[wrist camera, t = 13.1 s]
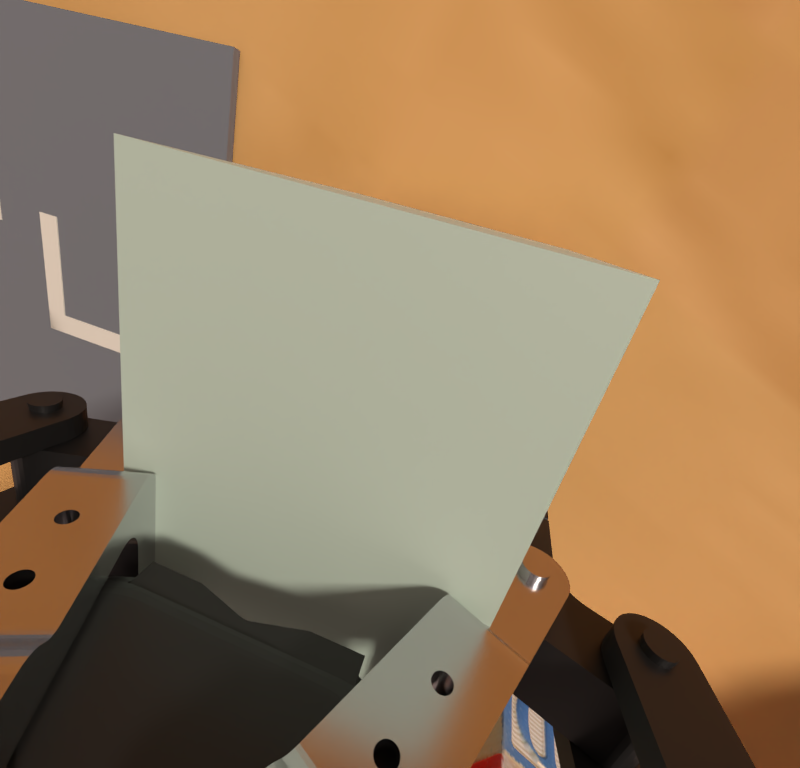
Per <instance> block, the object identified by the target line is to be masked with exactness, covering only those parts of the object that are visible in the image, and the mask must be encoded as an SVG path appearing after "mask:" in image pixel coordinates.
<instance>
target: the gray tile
mask: <svg viewBox="0 0 800 768" xmlns="http://www.w3.org/2000/svg"><path fill="white" fill-rule="evenodd" d="M239 57H240V51H239V50H238V49H236V48H235V47H231V46H227V45H222V44H218V43H213V42H209V41H204V40H200V39H195V38H191V37H186V36H182V35H177V34H173V33H168V32H164V31H159V30H155V29H150V28H146V27H141V26H137V25H132V24H128V23H123V22H119V21H114V20H110V19H105V18H101V17H96V16H91V15H87V14H82V13H78V12H73V11H69V10H64V9H60V8H55V7H51V6H46V5H42V4H37V3H33V2H28V1H24V0H0V401H3V400H7V399H11V398H15V397H18V396H22V395H26V394H31V393H37V392H48V391H57V392H67V393H72V394H75V395H78V396H80V397H82V398H83V399H84V400H85V401H86V403H87V416H88V418H92V419H99V420H105V421H112V422H118V421H119V420H120V419H121V418H122V392H121V359H120V327H119V294H118V262H117V229H116V196H115V164H114V133H116V134H120V135H124V136H128V137H132V138H136V139H140V140H144V141H148V142H152V143H156V144H160V145H164V146H168V147H172V148H176V149H180V150H184V151H188V152H192V153H196V154H200V155H205V156H209V157H213V158H217V159H221V160H225V161H229V162H232V157H233V143H234V129H235V114H236V100H237V86H238V72H239Z"/></svg>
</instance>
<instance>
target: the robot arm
mask: <svg viewBox="0 0 800 768" xmlns="http://www.w3.org/2000/svg"><path fill="white" fill-rule="evenodd" d="M8 462H11V469H12V475H13V481H14V487H12V488H10V489H7V490H5V491H2V492H0V768H471V766H472V764H473V763H474V761H475V759H476V757H477V756H478V754H479V752H480V750H481V749H482V747H483V745H484V743H485V742H486V740H487V738H488V736H489V735H490V733H491V731H492V729H493V728H494V726H495V724H496V722H497V721H498V719H499V717H500V715H501V714H502V712H503V710H504V708H505V707H506V705H507V703H508V701H509V700H510V698H511V696H512V694H513V695H515V696H516V697H517V698H518V699H520V700H521V701H522V702H523V703H524V704H526V705H527V706H528V707H529V708H531V709H532V710H533V711H534V712H535V713H537V714H538V715H539V716H540V717H542V718H543V719H544V720H545V721H547V722H548V723H549V724H550V725H551V726H553V733H554V738H555V743H556V748H557V753H558V758H559V763H560V768H755V766H754V764H753V762H752V761H751V759H750V757H749V755H748V753H747V752H746V750H745V748H744V746H743V744H742V743H741V741H740V739H739V737H738V735H737V734H736V732H735V730H734V728H733V726H732V725H731V723H730V721H729V719H728V717H727V716H726V714H725V712H724V710H723V708H722V707H721V705H720V703H719V701H718V699H717V698H716V696H715V694H714V692H713V690H712V688H711V687H710V685H709V683H708V681H707V679H706V678H705V676H704V674H703V672H702V670H701V669H700V667H699V665H698V663H697V662H696V660H695V658H694V657H693V655H692V654H691V653H690V651H689V650H688V649H687V647H686V646H685V645H684V644H683V643H682V642H681V641H680V640H679V639H678V638H677V637H676V636H675V635H674V634H672V633H671V632H670V631H669V630H667V629H666V628H665V627H663V626H662V625H660V624H659V623H657V622H655V621H653V620H651V619H649V618H647V617H645V616H642V615H638V614H633V613H627V614H622V615H620V616H619V617H618V618H617V619H616V620H615V622H614V623H613V624H612V623H611V622H609V621H608V620H606V619H605V618H603V617H602V616H600V615H599V614H597V613H595V612H594V611H592V610H591V609H589V608H588V607H586V606H585V605H584V604H582V603H581V602H580V601H578V600H577V599H576V598H575V597H574V596H573V595H572V594H571V593H570V584H569V580H568V577H567V576H566V574H565V572H564V571H563V569H562V568H561V566H560V565H559V564H558V563H557V562H556V561H555V560H554V559H553V557H552V548H551V539H550V530H549V521H547V520H548V512H546V514H545V516H544V518H543V520H542V522H541V524H540V526H539V528H538V530H537V532H536V534H535V536H534V539H533V541H532V543H531V545H530V547H529V549H528V551H527V553H526V555H525V557H524V559H523V561H522V563H521V565H520V567H519V569H518V571H517V573H516V575H515V577H514V579H513V581H512V583H511V586H510V588H509V590H508V592H507V594H506V596H505V598H504V600H503V602H502V604H501V606H500V608H499V610H498V612H497V614H496V616H495V618H494V620H493V622H492V624H491V626H490V627H489V626H487V625H485V624H483V623H482V622H481V621H480V620H479V619H478V618H476V617H475V616H474V615H473V614H472V613H471V612H469V611H468V610H467V609H466V608H465V607H464V606H462V605H461V604H460V603H459V602H458V601H457V600H455V599H454V598H453V597H452V596H451V595H449V594H448V595H446V596H444V597H443V598H442V599H441V600H440V601H439V602H438V603H437V604H436V605H435V606H434V607H433V608H432V609H431V610H430V611H429V612H428V613H427V614H426V615H425V616H424V617H423V618H422V619H421V620H420V621H419V622H418V623H417V624H416V625H415V626H414V627H413V628H412V629H411V630H410V631H409V632H408V633H407V634H406V635H405V636H404V637H403V638H402V639H401V640H400V641H399V642H398V643H397V644H396V645H395V646H394V647H393V648H392V649H391V650H390V651H389V652H388V653H387V654H386V656H385V657H384V658H383V659H382V660H381V661H380V662H379V663H378V664H377V665H376V666H375V667H374V668H373V669H372V670H371V671H370V672H369V673H368V674H367V675H366V676H365V677H364V678H363V679H361V678H360V677H359V673H360V670H361V667H362V664H363V661H364V658H365V655H362V654H360V653H358V652H356V651H353V650H351V649H349V648H347V647H344V646H342V645H340V644H338V643H335V642H333V641H331V640H329V639H326V638H324V637H322V636H320V635H317V634H315V633H313V632H311V631H306V630H300V629H294V628H288V627H282V626H276V625H270V624H264V623H257V622H251V621H247V620H245V619H243V618H242V617H240V616H239V615H238V614H237V613H236V612H235V611H233V610H232V609H231V608H230V607H229V606H228V605H226V604H225V603H224V602H223V601H222V600H221V599H220V598H218V597H217V596H216V595H215V594H214V593H213V592H211V591H210V590H209V589H208V588H207V587H206V586H205V585H203V584H202V583H200V582H198V581H196V580H194V579H191V578H189V577H187V576H185V575H182V574H180V573H178V572H176V571H174V570H171V569H169V568H167V567H165V566H162V565H160V564H158V563H156V562H155V502H156V476H155V474H152V473H140V472H127V471H124V457H123V424H122V418H121V419H120V420H119V421H118V422H112V421H105V420H99V419H92V418H88V416H87V403H86V401H85V400H84V399H83V398H82V397H80V396H78V395H75V394H72V393H67V392H57V391H48V392H37V393H31V394H26V395H22V396H18V397H15V398H11V399H7V400H3V401H0V465H2V464H5V463H8Z"/></svg>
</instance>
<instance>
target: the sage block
mask: <svg viewBox="0 0 800 768" xmlns="http://www.w3.org/2000/svg"><path fill="white" fill-rule="evenodd" d="M114 164H115V196H116V229H117V262H118V294H119V327H120V359H121V392H122V424H123V457H124V471H127V472H140V473H152V474H155V476H156V502H155V562H156V563H158V564H160V565H162V566H165V567H167V568H169V569H171V570H174V571H176V572H178V573H180V574H182V575H185V576H187V577H189V578H191V579H194V580H196V581H198V582H200V583H202V584H203V585H205V586H206V587H207V588H208V589H209V590H210V591H211V592H213V593H214V594H215V595H216V596H217V597H218V598H220V599H221V600H222V601H223V602H224V603H225V604H226V605H228V606H229V607H230V608H231V609H232V610H233V611H235V612H236V613H237V614H238V615H239V616H240V617H242V618H243V619H245V620H247V621H251V622H257V623H264V624H270V625H276V626H282V627H288V628H294V629H300V630H306V631H311V632H313V633H315V634H317V635H320V636H322V637H324V638H326V639H329V640H331V641H333V642H335V643H338V644H340V645H342V646H344V647H347V648H349V649H351V650H353V651H356V652H358V653H360V654H362V655H365V658H364V661H363V664H362V667H361V670H360V673H359V677H360V678H361V679H363V678H364V677H365V676H366V675H367V674H368V673H369V672H370V671H371V670H372V669H373V668H374V667H375V666H376V665H377V664H378V663H379V662H380V661H381V660H382V659H383V658H384V657H385V656H386V654H387V653H388V652H389V651H390V650H391V649H392V648H393V647H394V646H395V645H396V644H397V643H398V642H399V641H400V640H401V639H402V638H403V637H404V636H405V635H406V634H407V633H408V632H409V631H410V630H411V629H412V628H413V627H414V626H415V625H416V624H417V623H418V622H419V621H420V620H421V619H422V618H423V617H424V616H425V615H426V614H427V613H428V612H429V611H430V610H431V609H432V608H433V607H434V606H435V605H436V604H437V603H438V602H439V601H440V600H441V599H442V598H443V597H444V596H446V595H448V594H449V595H451V596H452V597H453V598H454V599H455V600H457V601H458V602H459V603H460V604H461V605H462V606H464V607H465V608H466V609H467V610H468V611H469V612H471V613H472V614H473V615H474V616H475V617H476V618H478V619H479V620H480V621H481V622H482V623H483V624H485V625H487V626H489V627H490V626H491V624H492V622H493V620H494V618H495V616H496V614H497V612H498V610H499V608H500V606H501V604H502V602H503V600H504V598H505V596H506V594H507V592H508V590H509V588H510V586H511V583H512V581H513V579H514V577H515V575H516V573H517V571H518V569H519V567H520V565H521V563H522V561H523V559H524V557H525V555H526V553H527V551H528V549H529V547H530V545H531V543H532V541H533V539H534V536H535V534H536V532H537V530H538V528H539V526H540V524H541V522H542V520H543V518H544V516H545V514H546V512H547V510H548V508H549V506H550V504H551V502H552V500H553V498H554V496H555V494H556V492H557V489H558V487H559V485H560V483H561V481H562V479H563V477H564V475H565V473H566V471H567V469H568V467H569V465H570V463H571V461H572V459H573V457H574V455H575V453H576V451H577V449H578V447H579V445H580V442H581V440H582V438H583V436H584V434H585V432H586V430H587V428H588V426H589V424H590V422H591V420H592V418H593V416H594V414H595V412H596V410H597V408H598V406H599V404H600V402H601V400H602V398H603V395H604V393H605V391H606V389H607V387H608V385H609V383H610V381H611V379H612V377H613V375H614V373H615V371H616V369H617V367H618V365H619V363H620V361H621V359H622V357H623V355H624V353H625V351H626V348H627V346H628V344H629V342H630V340H631V338H632V336H633V334H634V332H635V330H636V328H637V326H638V324H639V322H640V320H641V318H642V316H643V314H644V312H645V310H646V308H647V306H648V304H649V301H650V299H651V297H652V295H653V293H654V291H655V289H656V287H657V285H658V283H659V281H660V280H658V279H655V278H652V277H649V276H645V275H642V274H639V273H636V272H633V271H630V270H627V269H624V268H621V267H618V266H615V265H612V264H609V263H606V262H603V261H600V260H597V259H594V258H591V257H588V256H585V255H582V254H579V253H576V252H573V251H570V250H567V249H563V248H560V247H556V246H552V245H548V244H545V243H541V242H537V241H534V240H530V239H526V238H522V237H519V236H515V235H511V234H507V233H504V232H500V231H496V230H492V229H489V228H485V227H481V226H477V225H474V224H470V223H466V222H463V221H459V220H455V219H451V218H448V217H444V216H440V215H436V214H433V213H429V212H425V211H421V210H418V209H414V208H410V207H406V206H403V205H399V204H395V203H391V202H388V201H384V200H380V199H377V198H373V197H369V196H365V195H362V194H358V193H354V192H350V191H346V190H342V189H338V188H334V187H330V186H326V185H321V184H317V183H313V182H309V181H305V180H301V179H297V178H293V177H289V176H285V175H281V174H277V173H273V172H269V171H265V170H261V169H257V168H253V167H249V166H245V165H241V164H237V163H233V162H229V161H225V160H221V159H217V158H213V157H209V156H205V155H200V154H196V153H192V152H188V151H184V150H180V149H176V148H172V147H168V146H164V145H160V144H156V143H152V142H148V141H144V140H140V139H136V138H132V137H128V136H124V135H120V134H116V133H114Z"/></svg>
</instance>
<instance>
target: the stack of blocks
mask: <svg viewBox="0 0 800 768" xmlns="http://www.w3.org/2000/svg"><path fill="white" fill-rule="evenodd" d="M471 768H560V763H559V758H558V753H557V748H556V743H555V738H554V733H553V726H551V725H550V724H549V723H548V722H547V721H545V720H544V719H543V718H542V717H540V716H539V715H538V714H537V713H535V712H534V711H533V710H532V709H531V708H529V707H528V706H527V705H526V704H524V703H523V702H522V701H521V700H520V699H518V698H517V697H516V696H515V695H513V694H512V696H511V698H510V700H509V701H508V703H507V705H506V707H505V708H504V710H503V712H502V714H501V715H500V717H499V719H498V721H497V722H496V724H495V726H494V728H493V729H492V731H491V733H490V735H489V736H488V738H487V740H486V742H485V743H484V745H483V747H482V749H481V750H480V752H479V754H478V756H477V757H476V759H475V761H474V763H473V764H472V766H471Z"/></svg>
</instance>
